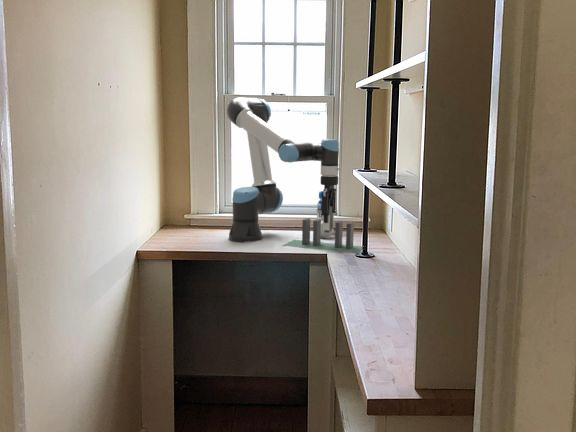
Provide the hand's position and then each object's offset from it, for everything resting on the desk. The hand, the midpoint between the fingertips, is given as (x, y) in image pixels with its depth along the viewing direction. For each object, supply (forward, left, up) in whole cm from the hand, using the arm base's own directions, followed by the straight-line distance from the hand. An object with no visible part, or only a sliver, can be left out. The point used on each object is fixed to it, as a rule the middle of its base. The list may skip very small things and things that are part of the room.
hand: (328, 228), depth 258 cm
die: (-7, +17, -8) cm, 20 cm away
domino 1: (-10, 0, -8) cm, 13 cm away
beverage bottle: (-11, +30, -8) cm, 33 cm away
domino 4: (+5, 0, -8) cm, 9 cm away
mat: (-1, -1, -8) cm, 8 cm away
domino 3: (0, 0, -1) cm, 1 cm away
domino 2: (-5, 0, -8) cm, 9 cm away
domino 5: (+10, 0, -8) cm, 12 cm away
